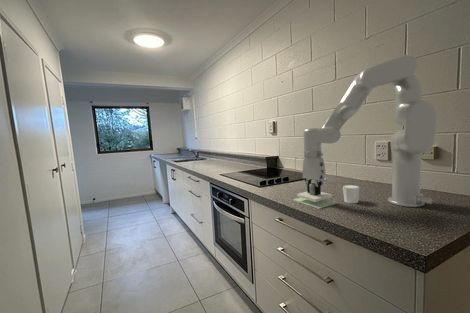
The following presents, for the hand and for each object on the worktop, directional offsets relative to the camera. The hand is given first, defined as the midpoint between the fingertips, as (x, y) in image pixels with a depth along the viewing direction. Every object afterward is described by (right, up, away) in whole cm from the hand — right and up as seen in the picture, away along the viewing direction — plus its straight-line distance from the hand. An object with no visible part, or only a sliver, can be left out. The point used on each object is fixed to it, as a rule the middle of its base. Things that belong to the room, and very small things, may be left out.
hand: (313, 193), depth 104 cm
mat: (0, -4, 0) cm, 4 cm away
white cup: (+16, -4, -2) cm, 17 cm away
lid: (0, -2, 0) cm, 2 cm away
